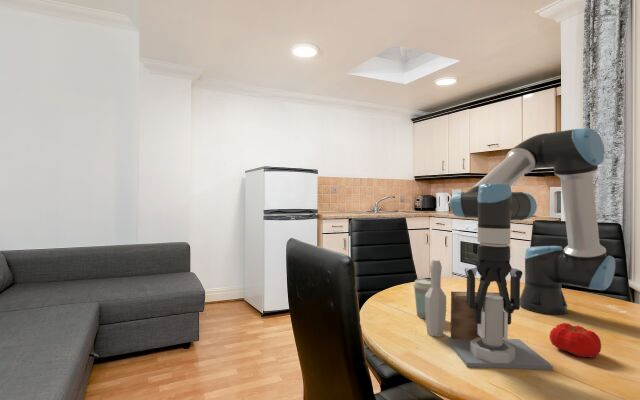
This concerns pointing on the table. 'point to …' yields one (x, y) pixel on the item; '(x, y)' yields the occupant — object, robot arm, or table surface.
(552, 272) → the robot arm
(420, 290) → the coffee cup
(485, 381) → the table surface
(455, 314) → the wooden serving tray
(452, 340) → the socket board
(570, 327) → the tomato
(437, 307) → the low poly bottle
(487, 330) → the beverage can
